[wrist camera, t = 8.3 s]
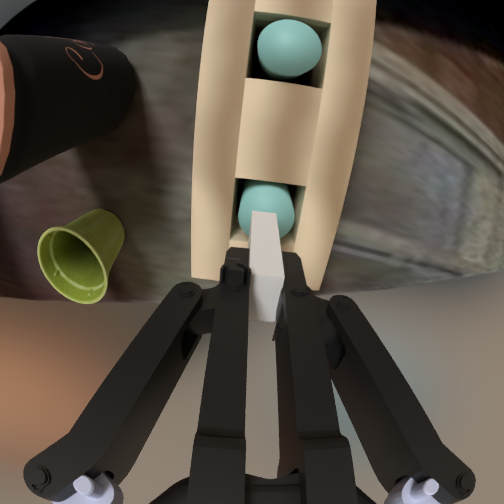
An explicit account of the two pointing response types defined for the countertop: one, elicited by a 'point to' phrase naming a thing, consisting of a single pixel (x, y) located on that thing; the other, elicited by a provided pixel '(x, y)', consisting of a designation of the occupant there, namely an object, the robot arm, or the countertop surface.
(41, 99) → the coffee jar
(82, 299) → the plant pot
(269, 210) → the peg
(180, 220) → the countertop surface
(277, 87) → the socket block
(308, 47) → the peg
